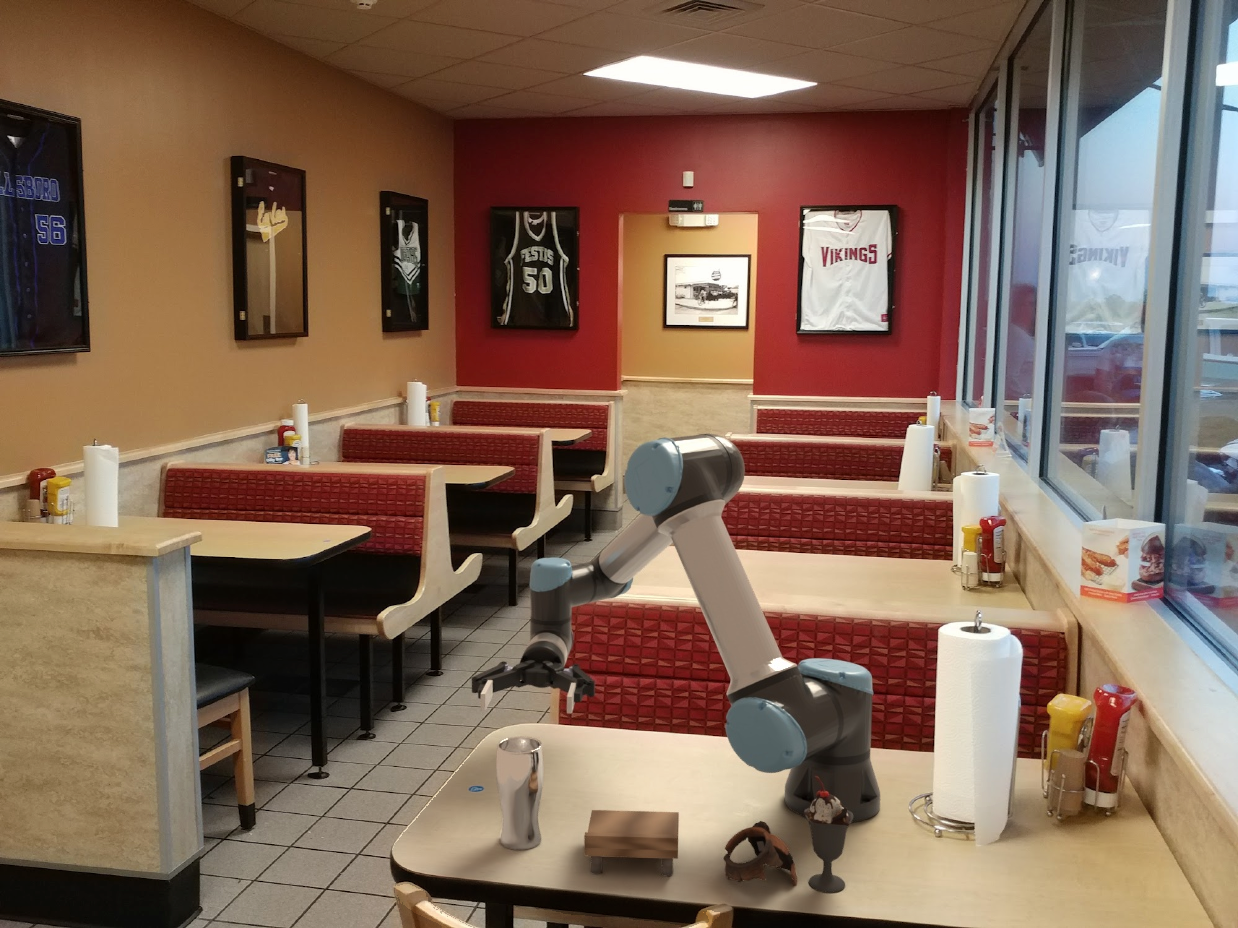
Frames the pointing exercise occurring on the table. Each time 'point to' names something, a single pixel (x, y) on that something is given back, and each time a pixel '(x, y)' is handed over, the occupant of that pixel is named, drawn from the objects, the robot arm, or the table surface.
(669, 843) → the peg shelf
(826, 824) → the sundae
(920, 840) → the table surface
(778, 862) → the broken clay pot
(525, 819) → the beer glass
